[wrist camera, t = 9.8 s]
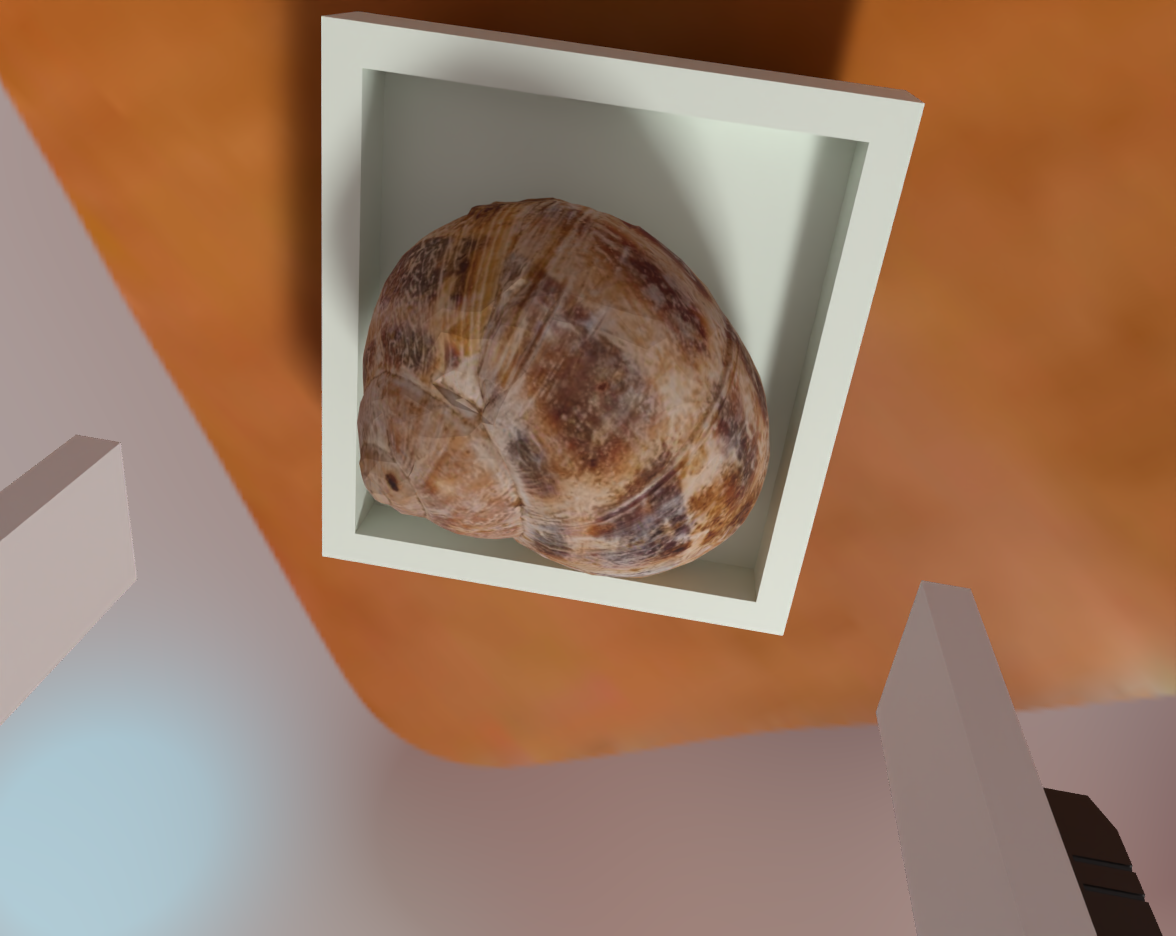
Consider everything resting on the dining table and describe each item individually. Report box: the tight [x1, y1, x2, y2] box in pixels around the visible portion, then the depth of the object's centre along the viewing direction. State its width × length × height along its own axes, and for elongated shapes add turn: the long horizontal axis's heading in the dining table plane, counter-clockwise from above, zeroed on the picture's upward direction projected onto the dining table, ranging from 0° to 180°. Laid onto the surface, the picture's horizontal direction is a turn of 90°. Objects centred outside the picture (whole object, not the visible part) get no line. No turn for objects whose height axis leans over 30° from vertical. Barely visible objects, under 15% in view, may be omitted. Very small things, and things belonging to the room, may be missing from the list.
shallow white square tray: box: [321, 11, 925, 636], centre depth 28 cm, size 15×14×5 cm
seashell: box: [357, 197, 770, 578], centre depth 26 cm, size 10×9×10 cm
